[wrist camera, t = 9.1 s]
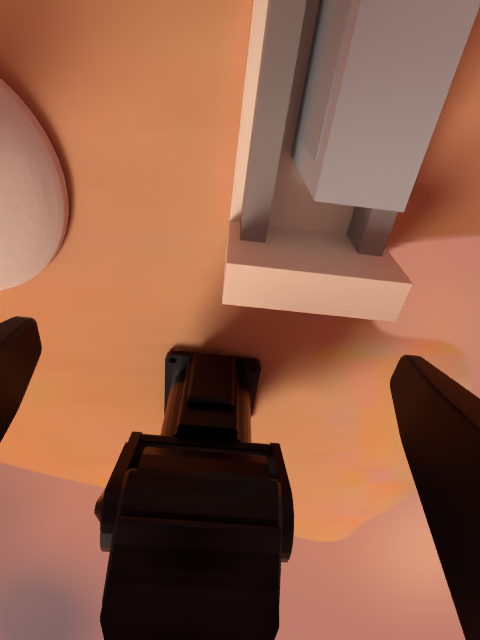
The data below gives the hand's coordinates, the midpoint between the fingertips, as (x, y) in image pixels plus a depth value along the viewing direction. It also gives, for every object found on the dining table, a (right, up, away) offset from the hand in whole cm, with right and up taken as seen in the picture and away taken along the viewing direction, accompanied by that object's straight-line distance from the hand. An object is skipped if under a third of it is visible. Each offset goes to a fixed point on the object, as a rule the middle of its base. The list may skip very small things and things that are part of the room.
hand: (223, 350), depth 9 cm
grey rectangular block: (+5, +12, +6) cm, 14 cm away
